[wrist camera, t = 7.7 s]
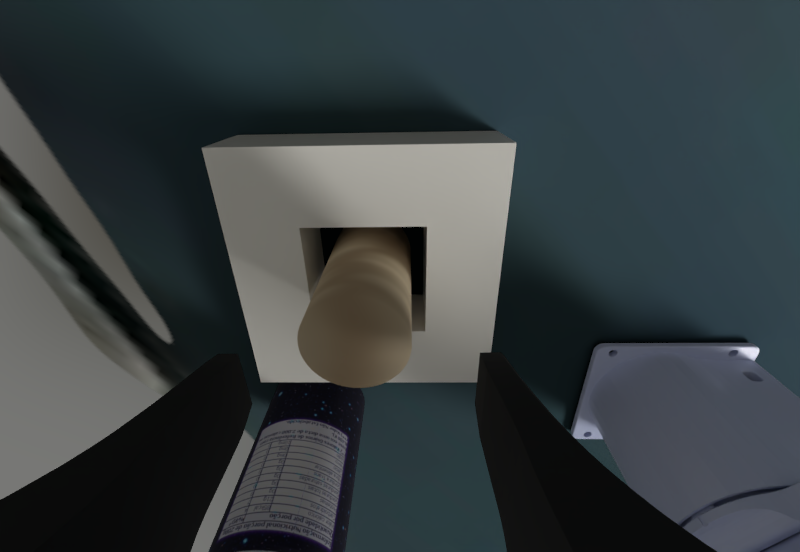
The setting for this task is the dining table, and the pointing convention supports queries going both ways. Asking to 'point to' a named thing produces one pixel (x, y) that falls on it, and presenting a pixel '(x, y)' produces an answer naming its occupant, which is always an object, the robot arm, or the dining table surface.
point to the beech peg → (361, 309)
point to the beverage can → (297, 474)
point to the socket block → (366, 207)
